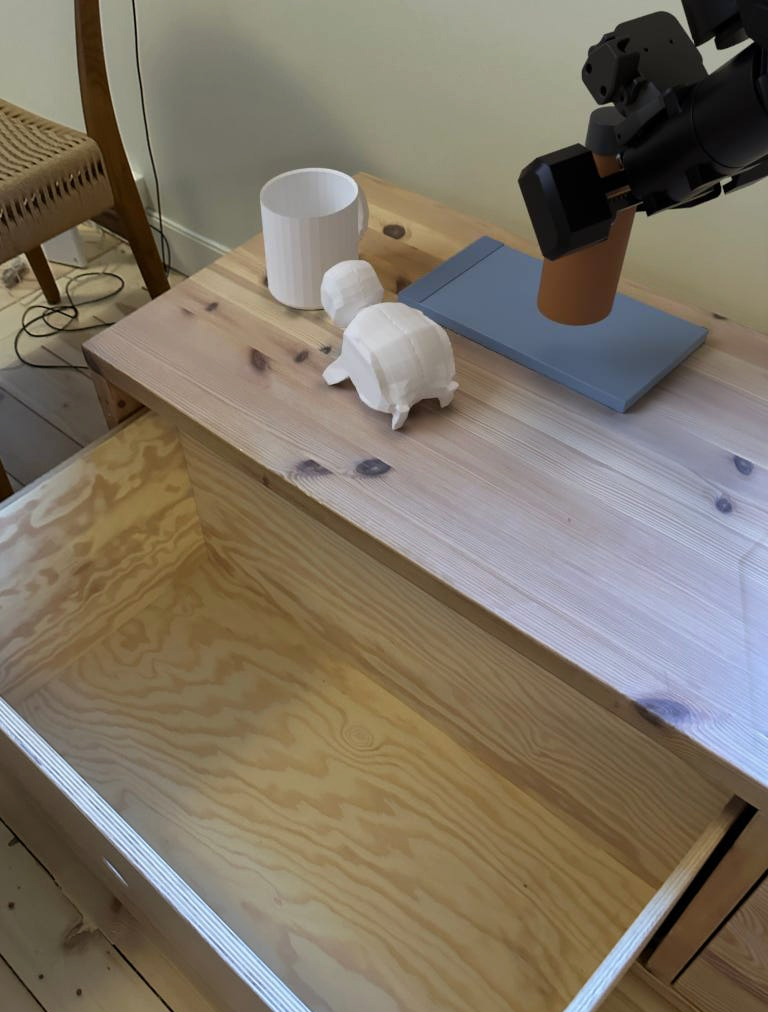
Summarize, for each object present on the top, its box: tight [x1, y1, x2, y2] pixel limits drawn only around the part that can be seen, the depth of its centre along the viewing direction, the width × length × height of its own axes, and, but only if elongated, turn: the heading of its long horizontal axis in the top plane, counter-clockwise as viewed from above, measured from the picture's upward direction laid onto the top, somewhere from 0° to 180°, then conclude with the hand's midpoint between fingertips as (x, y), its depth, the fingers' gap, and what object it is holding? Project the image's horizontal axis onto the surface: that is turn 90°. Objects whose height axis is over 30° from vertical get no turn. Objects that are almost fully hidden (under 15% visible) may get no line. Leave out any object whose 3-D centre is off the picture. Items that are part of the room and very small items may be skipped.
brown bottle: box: [537, 105, 637, 326], centre depth 67 cm, size 6×6×14 cm
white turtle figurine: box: [321, 259, 460, 431], centre depth 77 cm, size 9×8×15 cm
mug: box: [259, 167, 370, 311], centre depth 86 cm, size 12×9×9 cm
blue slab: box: [397, 234, 709, 414], centre depth 83 cm, size 25×13×1 cm, turn 45°
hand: (579, 218), depth 69 cm, fingers closed on brown bottle, 6 cm apart
